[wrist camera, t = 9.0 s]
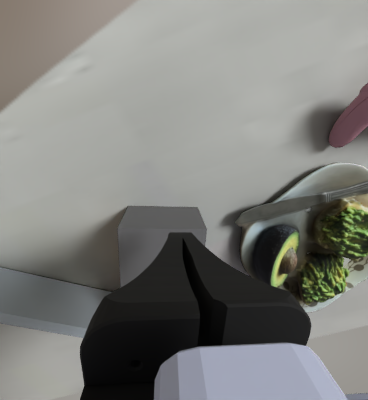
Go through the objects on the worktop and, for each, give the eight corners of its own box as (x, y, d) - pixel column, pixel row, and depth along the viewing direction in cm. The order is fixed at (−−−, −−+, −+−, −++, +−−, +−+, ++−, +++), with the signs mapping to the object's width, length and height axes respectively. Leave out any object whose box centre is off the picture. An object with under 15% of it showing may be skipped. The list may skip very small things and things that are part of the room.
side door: (130, 296, 24) (121, 334, 19) (126, 306, 24) (117, 346, 20) (-39, 258, 21) (-96, 294, 16) (-40, 271, 21) (-96, 310, 16)
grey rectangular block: (189, 308, 25) (194, 349, 21) (131, 310, 25) (123, 352, 20) (197, 207, 21) (206, 229, 16) (128, 205, 21) (116, 228, 16)
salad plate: (367, 106, 20) (424, 100, 15) (419, 231, 25) (473, 252, 21) (209, 226, 22) (220, 249, 18) (286, 316, 28) (309, 350, 23)
